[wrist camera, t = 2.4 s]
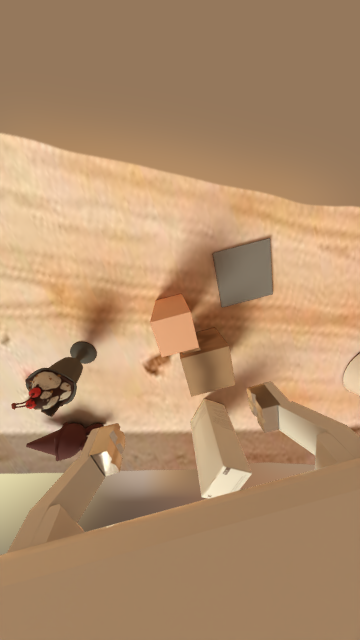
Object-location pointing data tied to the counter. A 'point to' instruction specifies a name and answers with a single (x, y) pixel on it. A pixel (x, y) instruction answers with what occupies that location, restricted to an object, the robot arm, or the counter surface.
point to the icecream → (64, 440)
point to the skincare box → (217, 451)
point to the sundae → (57, 380)
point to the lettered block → (208, 363)
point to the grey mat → (244, 272)
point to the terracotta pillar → (173, 326)
